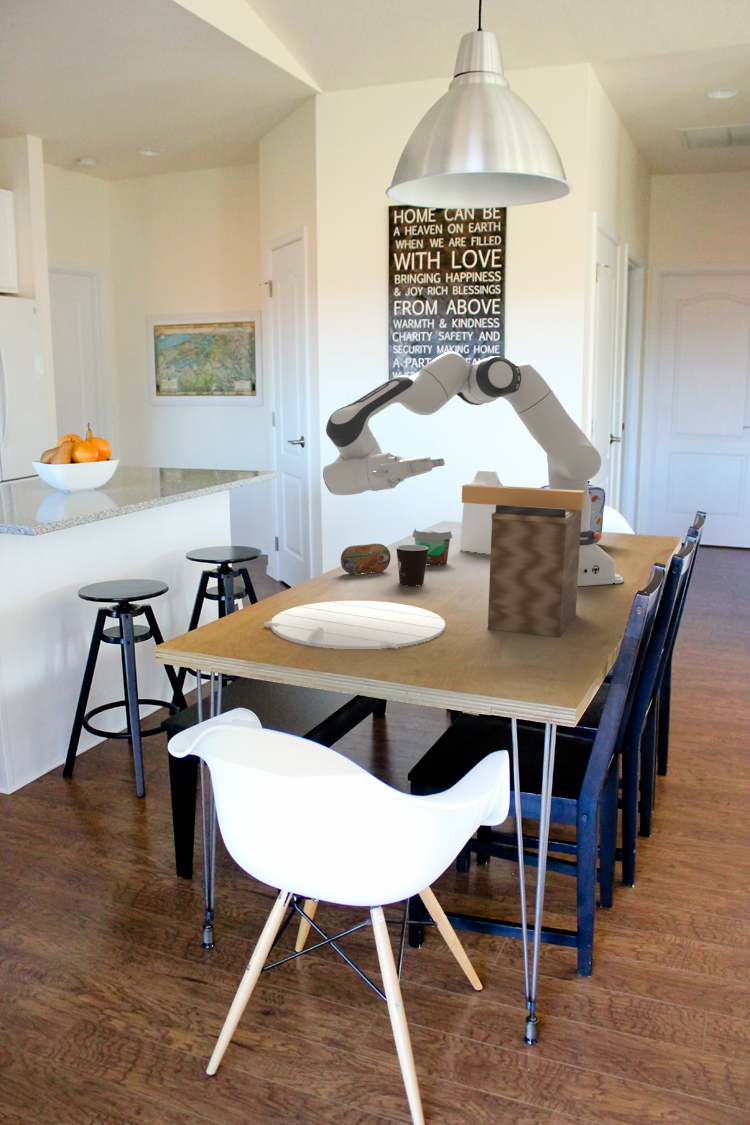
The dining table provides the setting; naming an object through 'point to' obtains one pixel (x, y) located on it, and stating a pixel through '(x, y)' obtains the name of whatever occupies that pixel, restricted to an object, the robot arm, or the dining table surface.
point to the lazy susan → (357, 625)
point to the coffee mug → (411, 564)
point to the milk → (478, 518)
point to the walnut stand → (533, 569)
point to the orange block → (523, 496)
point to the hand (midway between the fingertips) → (437, 462)
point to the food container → (434, 545)
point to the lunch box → (595, 507)
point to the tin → (365, 558)
